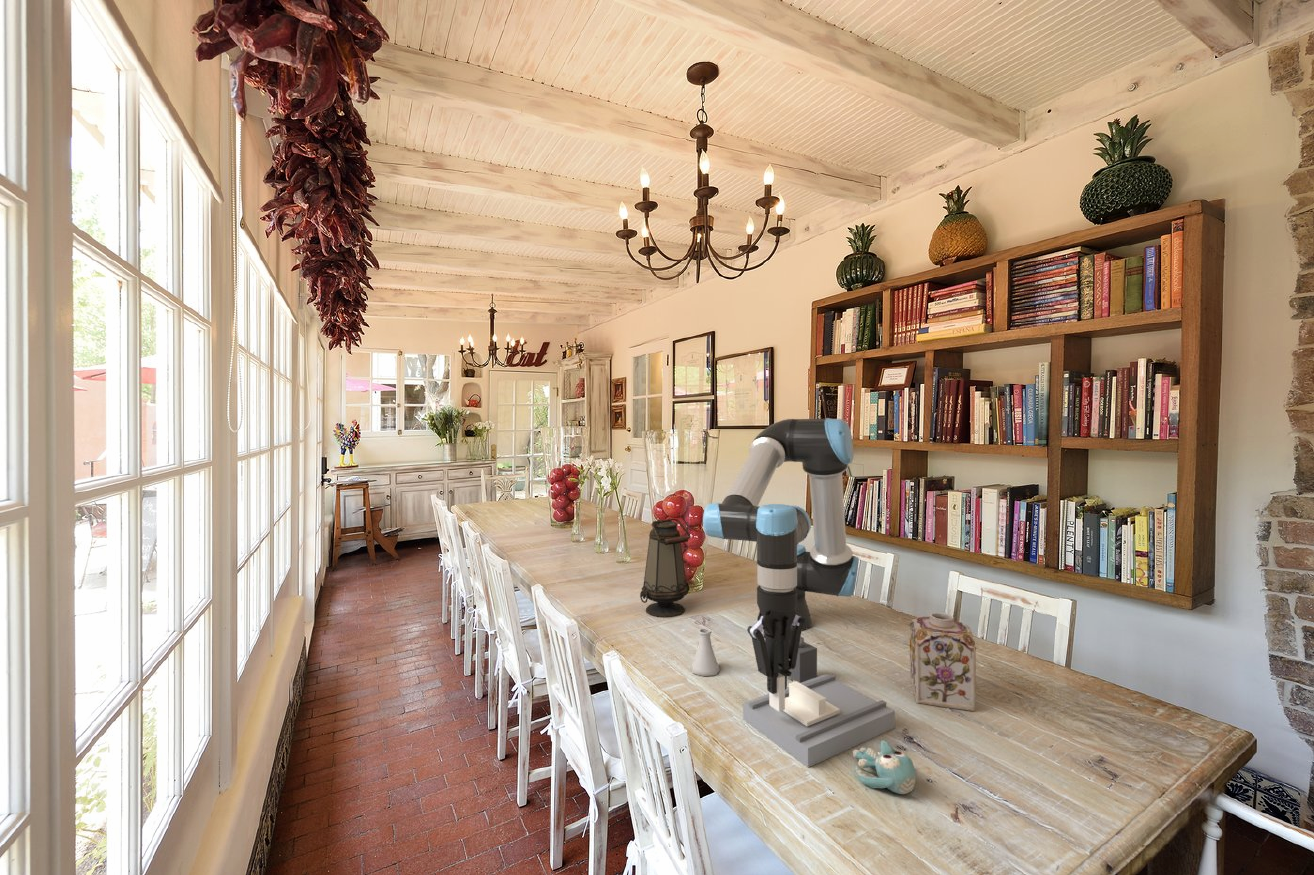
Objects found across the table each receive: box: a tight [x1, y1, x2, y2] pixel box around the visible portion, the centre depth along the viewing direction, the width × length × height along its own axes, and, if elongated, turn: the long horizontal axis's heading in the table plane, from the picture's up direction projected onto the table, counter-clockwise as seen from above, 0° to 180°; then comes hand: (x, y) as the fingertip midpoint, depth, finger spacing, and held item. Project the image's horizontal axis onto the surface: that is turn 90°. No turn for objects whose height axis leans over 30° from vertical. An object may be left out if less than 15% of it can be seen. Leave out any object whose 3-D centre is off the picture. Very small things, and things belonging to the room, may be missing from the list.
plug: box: [787, 636, 818, 683], centre depth 127 cm, size 6×6×10 cm
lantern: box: [639, 517, 691, 619], centre depth 175 cm, size 18×15×30 cm
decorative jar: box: [909, 611, 977, 712], centre depth 120 cm, size 12×12×18 cm
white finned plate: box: [783, 681, 840, 726], centre depth 108 cm, size 9×9×4 cm
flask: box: [690, 627, 721, 677], centre depth 133 cm, size 7×7×10 cm
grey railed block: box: [742, 674, 896, 768], centre depth 109 cm, size 24×18×4 cm
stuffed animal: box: [852, 740, 917, 795], centre depth 93 cm, size 11×7×12 cm
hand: (777, 707), depth 104 cm, fingers closed
